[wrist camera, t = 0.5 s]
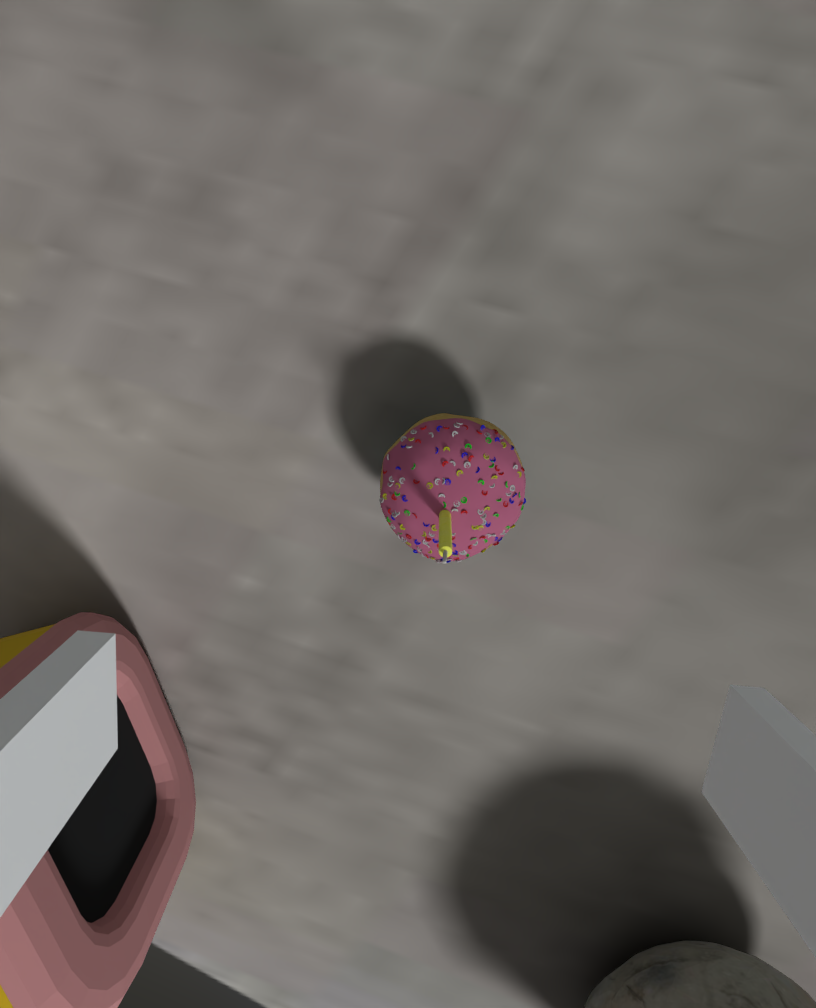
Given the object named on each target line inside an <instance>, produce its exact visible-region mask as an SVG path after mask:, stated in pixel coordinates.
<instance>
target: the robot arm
mask: <svg viewBox="0 0 816 1008" xmlns="http://www.w3.org/2000/svg"><path fill="white" fill-rule="evenodd" d="M117 749H118V732H117V683H116V634H115V633H103V632H91V631H79V630H78V631H77V632H75V633H74V634H73V635H72V636H71V637H70V638H69V639H68V640H66V641H65V642H64V643H63V644H62V645H61V646H60V647H59V648H57V649H56V650H55V651H54V652H53V653H52V654H51V655H50V656H48V657H47V658H46V659H45V660H44V661H43V662H42V663H41V664H39V665H38V666H37V667H36V668H35V669H34V670H33V671H32V672H30V673H29V674H28V675H27V676H26V677H25V678H24V679H23V680H21V681H20V682H19V683H18V684H17V685H16V686H15V687H14V688H13V689H11V690H10V691H9V692H8V693H7V694H6V695H5V696H4V697H2V698H1V699H0V917H1V916H2V915H3V913H4V912H5V910H6V909H7V907H8V906H9V904H10V903H11V902H12V900H13V899H14V897H15V896H16V894H17V893H18V891H19V890H20V889H21V887H22V886H23V884H24V883H25V881H26V880H27V878H28V877H29V876H30V874H31V873H32V871H33V870H34V868H35V867H36V866H37V864H38V863H39V861H40V860H41V858H42V857H43V855H44V854H45V853H46V851H47V850H48V848H49V847H50V845H51V844H52V842H53V841H54V840H55V838H56V837H57V835H58V834H59V832H60V831H61V829H62V828H63V827H64V825H65V824H66V822H67V821H68V819H69V818H70V816H71V815H72V814H73V812H74V811H75V809H76V808H77V806H78V805H79V803H80V802H81V801H82V799H83V798H84V796H85V795H86V793H87V792H88V790H89V789H90V788H91V786H92V785H93V783H94V782H95V780H96V779H97V777H98V776H99V775H100V773H101V772H102V770H103V769H104V767H105V766H106V765H107V763H108V762H109V760H110V759H111V757H112V756H113V754H114V753H115V752H116V750H117ZM701 792H702V794H703V795H704V796H705V798H706V799H707V801H708V802H709V804H710V805H711V807H712V808H713V810H714V811H715V812H716V814H717V815H718V817H719V818H720V820H721V821H722V823H723V824H724V825H725V827H726V828H727V830H728V831H729V833H730V834H731V836H732V837H733V839H734V840H735V841H736V843H737V844H738V846H739V847H740V849H741V850H742V852H743V853H744V855H745V856H746V857H747V859H748V860H749V862H750V863H751V865H752V866H753V868H754V869H755V870H756V872H757V873H758V875H759V876H760V878H761V879H762V881H763V882H764V884H765V885H766V886H767V888H768V889H769V891H770V892H771V894H772V895H773V897H774V898H775V899H776V901H777V902H778V904H779V905H780V907H781V908H782V910H783V911H784V913H785V914H786V915H787V917H788V918H789V920H790V921H791V923H792V924H793V926H794V927H795V929H796V930H797V931H798V933H799V934H800V936H801V937H802V939H803V940H804V942H805V943H806V944H807V946H808V947H809V949H810V950H811V952H812V953H813V955H814V956H815V958H816V735H815V734H814V733H813V732H812V731H810V730H809V729H808V728H807V727H806V726H805V725H804V724H803V723H802V722H801V721H800V720H799V719H797V718H796V717H795V716H794V715H793V714H792V713H791V712H790V711H789V710H788V709H787V708H786V707H784V706H783V705H782V704H781V703H780V702H779V701H778V700H777V699H776V698H775V697H774V696H773V695H771V694H770V693H769V692H768V691H767V690H766V689H765V688H762V687H750V686H738V685H730V687H729V690H728V694H727V698H726V702H725V705H724V709H723V713H722V717H721V720H720V724H719V728H718V731H717V735H716V739H715V743H714V746H713V750H712V754H711V758H710V761H709V765H708V769H707V773H706V776H705V780H704V784H703V788H702V791H701Z"/></svg>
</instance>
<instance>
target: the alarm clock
mask: <svg viewBox="0 0 816 1008" xmlns="http://www.w3.org/2000/svg"><path fill="white" fill-rule="evenodd" d="M78 630H79V631H91V632H103V633H115V634H116V683H117V732H118V749H117V750H116V752H115V753H114V754H113V756H112V757H111V759H110V760H109V762H108V763H107V765H106V766H105V767H104V769H103V770H102V772H101V773H100V775H99V776H98V777H97V779H96V780H95V782H94V783H93V785H92V786H91V788H90V789H89V790H88V792H87V793H86V795H85V796H84V798H83V799H82V801H81V802H80V803H79V805H78V806H77V808H76V809H75V811H74V812H73V814H72V815H71V816H70V818H69V819H68V821H67V822H66V824H65V825H64V827H63V828H62V829H61V831H60V832H59V834H58V835H57V837H56V838H55V840H54V841H53V842H52V844H51V845H50V847H49V848H48V850H47V851H46V853H45V854H44V855H43V857H42V858H41V860H40V861H39V863H38V864H37V866H36V867H35V868H34V870H33V871H32V873H31V874H30V876H29V877H28V878H27V880H26V881H25V883H24V884H23V886H22V887H21V889H20V890H19V891H18V893H17V894H16V896H15V897H14V899H13V900H12V902H11V903H10V904H9V906H8V907H7V909H6V910H5V912H4V913H3V915H2V916H1V917H0V1008H117V1007H118V1005H119V1004H120V1002H121V1000H122V998H123V997H124V995H125V993H126V991H127V990H128V988H129V986H130V984H131V983H132V981H133V979H134V977H135V976H136V974H137V972H138V971H139V969H140V967H141V965H142V963H143V961H144V959H145V956H146V954H147V951H148V949H149V946H150V944H151V942H152V939H153V937H154V934H155V932H156V930H157V927H158V925H159V922H160V920H161V917H162V915H163V913H164V910H165V908H166V905H167V903H168V901H169V898H170V896H171V893H172V891H173V888H174V886H175V884H176V881H177V879H178V876H179V874H180V872H181V869H182V867H183V864H184V862H185V859H186V857H187V853H188V849H189V846H190V842H191V839H192V835H193V831H194V820H195V806H196V799H195V789H194V779H193V772H192V769H191V765H190V762H189V758H188V755H187V752H186V748H185V746H184V743H183V741H182V739H181V736H180V734H179V731H178V729H177V727H176V724H175V722H174V719H173V717H172V715H171V712H170V710H169V708H168V705H167V703H166V700H165V698H164V696H163V693H162V691H161V688H160V686H159V684H158V681H157V679H156V676H155V674H154V672H153V669H152V667H151V664H150V662H149V660H148V658H147V656H146V654H145V653H144V651H143V649H142V647H141V646H140V644H139V642H138V640H137V639H136V637H135V636H134V635H133V634H131V633H130V632H129V631H128V630H127V629H126V628H125V627H124V626H122V625H121V624H120V623H119V622H118V621H116V620H115V619H114V618H113V617H109V616H105V615H101V614H97V613H92V612H80V613H78V614H75V615H73V616H70V617H68V618H66V619H63V620H61V621H59V622H58V623H56V624H53V625H49V626H46V627H42V628H38V629H34V630H30V631H27V632H23V633H19V634H15V635H11V636H8V637H4V638H0V699H1V698H2V697H4V696H5V695H6V694H7V693H8V692H9V691H10V690H11V689H13V688H14V687H15V686H16V685H17V684H18V683H19V682H20V681H21V680H23V679H24V678H25V677H26V676H27V675H28V674H29V673H30V672H32V671H33V670H34V669H35V668H36V667H37V666H38V665H39V664H41V663H42V662H43V661H44V660H45V659H46V658H47V657H48V656H50V655H51V654H52V653H53V652H54V651H55V650H56V649H57V648H59V647H60V646H61V645H62V644H63V643H64V642H65V641H66V640H68V639H69V638H70V637H71V636H72V635H73V634H74V633H75V632H77V631H78Z"/></svg>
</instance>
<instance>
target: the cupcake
mask: <svg viewBox="0 0 816 1008" xmlns="http://www.w3.org/2000/svg"><path fill="white" fill-rule="evenodd" d="M525 483H526V480H525V474H524V468H523V467H522V463H521V460H520V458H519V456H518V453H517V451H516V449H515V447H514V445H513V443H512V442H511V440H510V439H509V437H508V436H507V435H506V434H505V433H504V432H503V431H502V430H501V429H499V428H498V427H496V426H495V425H493V424H492V423H490V422H488V421H485V420H482V419H479V418H474V417H468V416H460V415H452V414H447V413H440V414H436V415H431V416H428V417H426V418H424V419H422V420H420V421H418V422H417V423H415V424H414V425H413V426H412V427H411V428H410V429H408V430H407V431H406V432H405V433H404V434H403V435H402V436H401V437H400V438H399V439H398V440H397V441H396V442H395V443H394V444H393V445H392V446H391V447H390V448H389V450H388V451H387V452H386V454H385V456H384V459H383V463H382V471H381V480H380V493H381V495H380V503H381V508H382V510H383V513H384V515H385V517H386V519H387V522H388V523H389V525H390V527H391V528H392V530H393V531H394V532H395V533H396V534H397V535H398V538H399V539H400V538H401V540H402V541H403V542H405V543H406V544H407V545H408V546H410V547H411V548H412V549H414V550H413V552H414V553H420V554H422V556H426V557H427V558H431V559H434V560H436V562H437V563H443V564H445V563H448V562H450V561H456V562H460V561H461V560H463V559H466V558H468V557H471V556H473V555H475V554H477V553H479V552H484V551H485V550H486V549H487V548H489V547H490V546H492V545H498V544H499V541H500V540H501V539H502V538H503V537H504V535H506V533H507V532H508V531H509V529H510V528H513V527H515V525H514V523H515V522H516V521H517V520H518V518H519V516H520V514H521V511H522V509H523V504H525V502H526V499H525V498H524V495H525ZM496 543H497V544H496ZM483 550H484V551H483ZM415 551H416V552H415ZM437 560H440V561H439V562H438V561H437Z"/></svg>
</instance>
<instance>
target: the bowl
mask: <svg viewBox="0 0 816 1008" xmlns="http://www.w3.org/2000/svg"><path fill="white" fill-rule="evenodd" d="M584 1008H816V1002H815V1001H814V1000H813V999H812V998H811V996H810V995H809V994H808V993H807V992H806V991H805V990H803V989H802V988H801V987H800V986H799V985H797V984H796V983H795V982H794V981H793V980H791V979H790V978H788V977H787V976H785V975H784V974H782V973H781V972H779V971H778V970H776V969H775V968H773V967H772V966H770V965H769V964H767V963H766V962H764V961H762V960H761V959H759V958H757V957H755V956H752V955H749V954H746V953H743V952H741V951H738V950H735V949H733V948H730V947H727V946H724V945H720V944H717V943H712V942H704V941H679V942H673V943H667V944H662V945H657V946H654V947H652V948H649V949H647V950H645V951H642V952H640V953H638V954H635V955H634V956H633V957H632V958H630V959H629V960H628V961H626V962H625V963H624V964H622V965H621V966H620V967H618V968H617V969H616V970H614V971H613V972H612V973H610V974H609V975H608V976H606V977H605V978H604V979H603V980H602V981H601V982H600V983H599V984H598V985H597V986H596V987H595V988H594V989H593V991H592V992H591V993H590V995H589V997H588V999H587V1001H586V1004H585V1006H584Z"/></svg>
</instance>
